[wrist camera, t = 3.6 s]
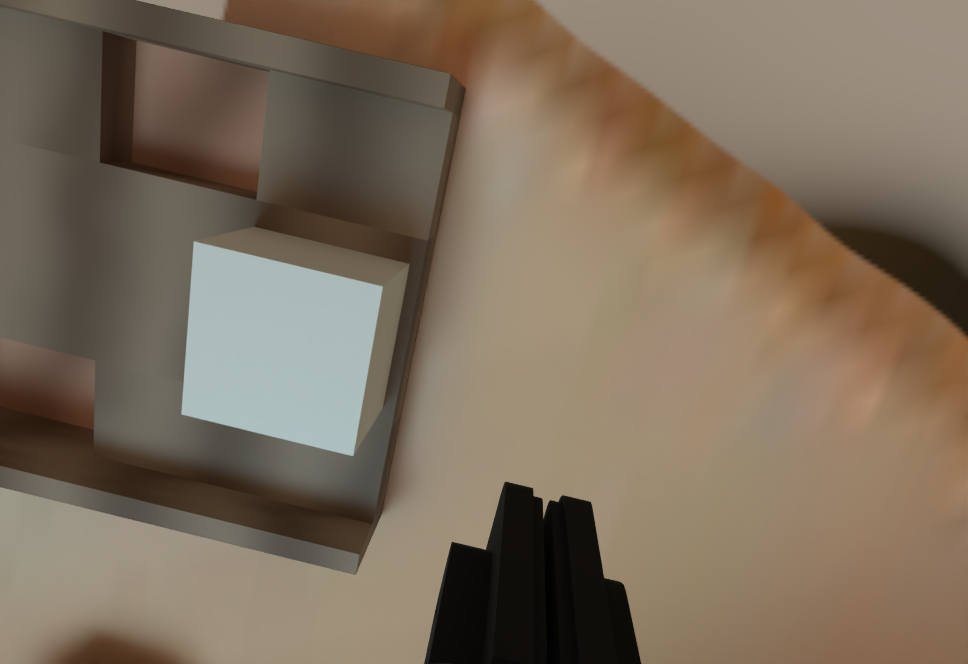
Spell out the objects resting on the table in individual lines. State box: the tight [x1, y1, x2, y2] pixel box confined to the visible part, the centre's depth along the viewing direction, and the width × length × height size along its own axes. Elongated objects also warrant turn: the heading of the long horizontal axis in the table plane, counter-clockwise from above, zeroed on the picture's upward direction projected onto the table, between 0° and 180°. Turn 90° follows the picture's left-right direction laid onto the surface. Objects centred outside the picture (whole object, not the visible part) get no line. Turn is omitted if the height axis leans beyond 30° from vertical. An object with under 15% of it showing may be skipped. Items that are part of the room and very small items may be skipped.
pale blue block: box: [181, 227, 410, 456], centre depth 21 cm, size 6×6×4 cm
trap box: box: [0, 0, 465, 575], centre depth 23 cm, size 25×19×4 cm
